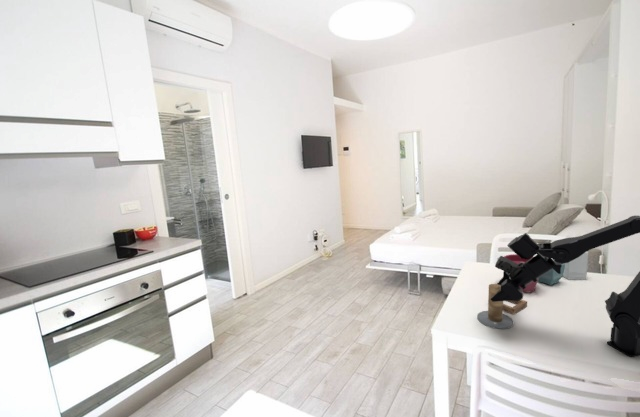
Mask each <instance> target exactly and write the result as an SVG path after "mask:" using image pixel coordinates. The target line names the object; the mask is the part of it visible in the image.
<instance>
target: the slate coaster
mask: <svg viewBox="0 0 640 417" xmlns="http://www.w3.org/2000/svg"><path fill="white" fill-rule="evenodd" d="M477 320H478V321H479V322H480V323H481V324H483V325H484V326H486V327H489V328H492V329H498V330H506V329H510V328H513V326H514V319H513V318H512V317H511V316H509V315H507V314H506V313H503V318H502V321H501V322H494V321H491V320H489V319H488V310H482V311H480V312H478V313H477Z"/></svg>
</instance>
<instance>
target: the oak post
mask: <svg viewBox="0 0 640 417" xmlns="http://www.w3.org/2000/svg"><path fill="white" fill-rule="evenodd" d="M500 289H501V285H498V284H497V283H490V284H489V285H488V294H487V295H488V297H487V298H488V300H487V301H488V302H487V304H488V306H487V311H488V319H489V320H491V321H494V322H501V321H502V318H503V314H504V311H503V304H504V301H495V302H493V301H492V300H491V298H492V297H493V296H494V295H495V294H496V293H497V292H498V291H499V290H500Z"/></svg>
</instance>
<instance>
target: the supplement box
mask: <svg viewBox="0 0 640 417" xmlns="http://www.w3.org/2000/svg"><path fill="white" fill-rule="evenodd" d="M588 262H589V251H587V252H585V253H584V254H583V255H581V256H580V257H578V258H576V259H574V260H572V261H570V262H568V263H565V268H564V273H563V276H562V277H563V278H565V279H566V280H569V281H571V280H572V281H575V280H577V281H578V280H579V281H581V280H583V281H584V280H585V281H586V280H587V278H588V277H587V275H588Z"/></svg>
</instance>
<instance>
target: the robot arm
mask: <svg viewBox="0 0 640 417" xmlns="http://www.w3.org/2000/svg"><path fill="white" fill-rule="evenodd" d="M636 234H640V215H631V216H629V217H628V218H626V219H623V220H620V221H618V222H615V223H612V224H610V225H607V226H605V227H602V228H599V229H596V230H593V231H591V232H587V233H585V234H583V235H579V236H574V237H566V238H561V239H558V240H554V241H552V242H538V243H537V242H536V241H535V240H534V239H533V238H532V237H531V236H530V235H529V234H528V233H527V232H525V233H523V234H521V235H519V236H516V237H514V238H513V239H512V240H511V241H510V242H509V243H508V244H507V248H509V249H510V250H511V251H512V252H513V253H514V254H517V255H518V256H519V257H520V258H521V259H530V258H531V257H533V258H531V259H530V260H528V261H527V262H525V263H523V262H520V263H519V264H517V263H515V262H513V261H511V260H509V259H507V258H505V257H504V256H503V255H500V256H499V258H497V260H496V263H495V265H494V267H495V268H497V269H498V270H501V271H503V275H502V277H501V278H500V279H499V281H498V282H497V283H496V284H498V285H501V289H500V290H499V291H498V292H497V293H496V294H495V295H494V296H493V297H492V298H491V300H492V301H493V302H495V301H503V302H505V301H506V302H509V301H510V300H513V301H517V302H518V301H520V300H524V299H523V298H524V297H523V296H524V292H523V290H522V289H525V288H526V285H528V284H529V283H531V282H533V281H534V282H536V281H537V282H539V281H538V279H537V278H539V277H541V276H542V275H544V274H546V273H547V272H549V271H550V270H552V269H554V270H555V271H556V272H557V273H558V274H561V267H562V264H561V263H568V262H570V261H572V260H574V259H576V258H578V257H580V256H581V255H583V254H584V253H585V252H589V251H591V250H594V249H596V248H599V247H602V246H606V245H607V244H611V243H614V242H616V241H617V242H618V241H620V240H622V239H625V238H628V237H632V236H633V235H636ZM555 261H556V262H559V263H556V262H555ZM520 287H521V288H522V289H521V288H520ZM604 303H605V310H606V312H607V315H608V317H609V318H610V321H611V323H612V327H611V328H610V340H609V341H606V344H607V345H609V346H610V347H612V348H614V349H616V350H618V351H619V352H620V353H623V354H624V355H626V356H628V357H637V356H640V270H639V271H638V272H637V274H636V275H635V277H634V278H633V280H632V281H631V282H630V283H629V285H628V286H627V288H626V289H624V291H621V292H620V293H617V292H615V291H611V293H610V295H609V297H608V298H607V299H605V300H604Z"/></svg>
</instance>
